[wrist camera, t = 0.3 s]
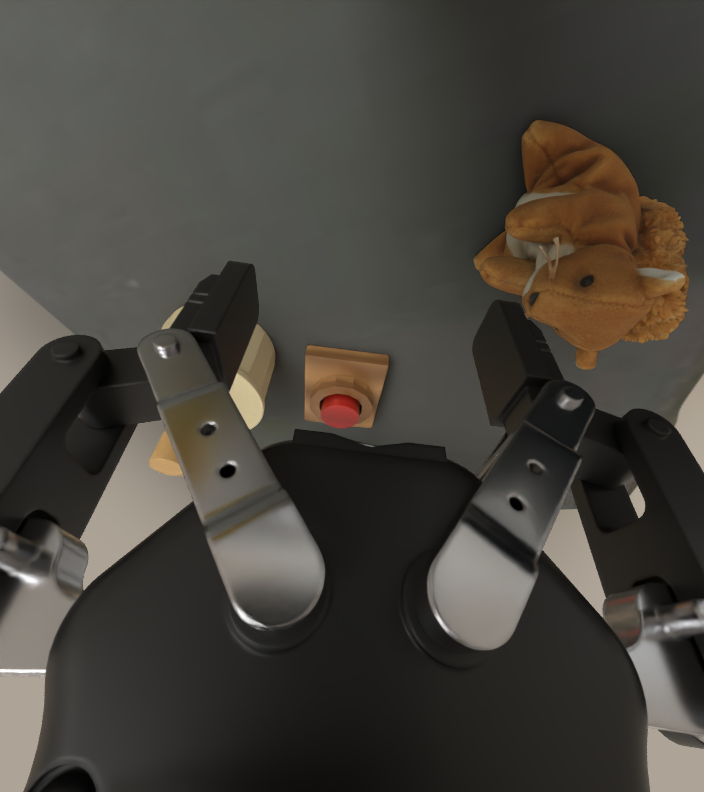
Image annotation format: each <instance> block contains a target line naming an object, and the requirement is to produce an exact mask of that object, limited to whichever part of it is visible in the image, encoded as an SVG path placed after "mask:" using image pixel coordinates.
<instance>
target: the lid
mask: <svg viewBox="0 0 704 792" xmlns="http://www.w3.org/2000/svg"><path fill="white" fill-rule="evenodd" d="M229 393H230V395H231V397H232V399H233V401H234V402H235V404H236V406H237V408H238V410H239V411H240V413H241V415H242V417H243V419H244V420H245V422H246V424H247V426H248V428H249V429H251V428H253V427H255V426H256V425H257V424H258V423H259V422H260V420H261V419H262V417H263V414H264V409H265V402H264V398H263V395H262V393H261V391H260V389H259V388H258V386H257V385H256V384H255V383H254V381H253V380H252V379H251V378H250V377H249V376H247V375H246V374H245V373H244V372H243V371H241V370H240V369H238V372H237V374H236V377H235V379H234V382H233V384H232V387H231V390H230V392H229ZM149 465H150V467H151V468H153V469H154V470H156V471H158V472H160V473H163V474H167V475H172V476H181V475H183V473H182V471H181V468H180V466H179V463H178V460H177V458H176V455H175V453H174V450H173V448H172V445H171V442H170V440H169V437H168V435H167V432H166V429H165V431H164V433H163V435H162V437H161V439H160V441H159V443H158V445H157V447H156V449H155V451H154V452H153V455H152V457H151V458H150V460H149Z"/></svg>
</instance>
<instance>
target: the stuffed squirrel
mask: <svg viewBox="0 0 704 792" xmlns="http://www.w3.org/2000/svg"><path fill="white" fill-rule="evenodd" d="M522 159H523V169H524V177H525V185H526V188H527V192H526V193H525V194H524V195H523V196H522V197H521V198H520V199H519V200H518V202H517V204H516V207H515V208H514V209H513V210H512V211H510V212H509V213H508V215H507V217H506V219H505V222H506V224H505V230H506V231H504V232H503V233H501V234H500V235H499V236H497V237H496V238H495V239H494V240H493V241H492V242H490V243H489V244H488V245H487V246H486V247H485V248H484V249H483V250H481V251H480V252H479V253H478V255H476V256H475V257H474V264H475V268H476V269H477V270H479V271H480V274H481V276H482V278H483V279H484V281H485V282H487V283H488V284H489V285H491V286H492V287H495V288H497V289H500V290H502V291H505V292H509V293H513V294H516V295H520V296H522V304H523V306H524V308H525V310H526V312H524V314H525V316H526V318H528V317H532V318H533V319H535V320H537V321H540V322H542V323H545V324H548V325H550V326H551V327H552V328H553V329H554V331H555V332H556V333H557V334H558V335H559V336H560V337H562V338H563V339H565V340H566V341H567V342H569V343H570V344H572V345H574V346H576V347H577V351H576V365H577V367H579V368H581V369H593V368H594V367H595V365H596V362H597V355H598V351H599V350H603V349H605V348H607V347H609V346H611V345H613V344H615V343H616V342H617V341H619V340H622V339H623V340H625V342H626V341H627V340H629V341H633V342H637V341H639V342H640V343H645V341H649V339H651V340H654V339H655V340H658V341H659V340H663V339H667V338H668V335H669V334H670V333H671V332H673V330H674V329H675V328H677V327H678V325H679V323H680V322H681V321H683V320H684V318H685V317H684V315H685V311H689V310H688V309H687V308H685V305H686V298H687V296H686V293H687V289H688V287H689V285H688V284H689V280H688V279H689V277H687V273H686V267H687V265H684V264H685V261H684V259H683V258H682V254H684V249H686V242H685V241H689V240H688V239H687V238H686V237H685V236H686V234H685V233H684V232H682V228H684V225H683V222H681V221H680V220H679V219H681V217H680V216H679V218H678V213H677V212H675V208H672V207H670V206H669V205H667V204H666V203H662V202H657V199H654V200H651V199H649V198H648V197H646V196H643V197H642V196H641V197H639V191H638V188H637V184H636V182H635V180H634V178H633V176H632V174H631V173H630V171H629V169H628V168H627V166H626V165H625V164H624V162H623V161H622V160H621V159H620V158H619V157H618V156H617V155H616V154H615V153H614V152H613V151H611V150H610V149H609V148H607V147H605V146H603V145H601V144H598V143H596V142H594V141H592V140H590V139H588V138H587V137H585V136H584V135H582V134H580V133H579V132H577V131H575V130H574V129H572V128H569V127H567V126H565V125H562V124H558V123H555V122H549V121H543V120H536V121H534V122H533V123H532V124H531V125H530V126H529V128H528V129H527V131H526V132H525V133H524V135H523V136H522Z"/></svg>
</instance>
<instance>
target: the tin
mask: <svg viewBox="0 0 704 792" xmlns="http://www.w3.org/2000/svg"><path fill="white" fill-rule="evenodd" d="M183 307H184V306H183ZM183 307H181V308H179V309H177V310H176V311H175V312H174V313H173V314H172V315H171V316H170V318H168V319H167V321H166V322H165V324H164V325H163V327H162V328H161V330H162V329H169V328H170V326H171V325H172V323H173V322H174V320H175V319H176V317H177V316H178V314H179V313H180V311H181V310H182V308H183ZM274 366H275V349H274V346H273V343H272V341H271V339H270V338H269V336H268V335H267V333H266V332H265V331H264V330H263V329H262V327H261V326H259V325H258V324H256V327H255V329H254V332H253V334H252V337H251V339H250V342H249V344H248V347H247V349H246V352H245V354H244V357H243V359H242V362H241V364H240V367H239V369H240V370H241V371H243V372H244V373H245V374H246V375H247V376H249V377H250V378H251V379H252V380H253V381H254V383H255V384H256V385H257V386H258V388H259V389H260V391H261V393H262V395H263V398H264V400H265V396H266V393H267V390H268V386H269V383H270V379H271V376H272V373H273V369H274Z"/></svg>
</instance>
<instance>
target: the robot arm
mask: <svg viewBox="0 0 704 792" xmlns="http://www.w3.org/2000/svg"><path fill="white" fill-rule="evenodd" d="M258 315H259V302H258V293H257V283H256V274H255V268H254V265H253V264H248V263H241V262H234V261H228V262H227V264H226V266H225V267H224V269H223V271H222V272H221V274H220V275H213V274H212V275H210V276H208V277H207V278H205V279H204V280H202V281H201V282H199V284H198V285H197V287H196V288H195V290H194V291H193V294H192V295H191V296H190V298H189V299H188V302H186V304H185V305H184V307H183V308H182V310H181V311H180V313H179V314H178V316H177V317H176V319H175V320H174V322H173V323H172V325H171V326H170V328H169V329H162V330H158V331H155V332H153V333H150V334H149V335H147V336H146V337H144V338H143V339H142V340H141V341H140V343H139V344H138V347H135V348H126V349H115V350H104V349H103V347H102V345H101V344H100V342H99V341H98V340H97V339H95V338H93V337H90V336H86V335H71V336H66V337H62V338H58V339H56V340H53V341H51V342H49V343H48V344H46V345H44V346H43V347H42V348H41V349H39V351H37V353H36V354H35V355H34V356H33V357H32V358H31V360H30V361H29V362H28V363H27V364H26V365H25V366H24V367H23V368H22V370H21V371H20V372H19V373H18V374H17V375H16V377H14V379H13V380H12V381H11V382H10V383H9V384H8V385H7V387H6V388H5V389H4V390H3V391H2V392H1V393H0V676H29V677H31V676H32V677H33V676H35V677H36V676H38V677H45V701H44V703H45V704H44V712H43V720H42V727H41V732H40V737H39V742H38V747H37V751H36V754H35V758H34V761H33V765H32V768H31V772H30V775H29V778H28V781H27V784H26V787H25V789H24V791H23V792H650V786H649V777H648V768H647V733H648V728H653V729H658V730H659V731H660V732H661V733H662V734H663V735H664V736H665V737H667V738H668V739H669V740H671V741H673V742H675V743H677V744H679V745H683V746H689V747H695V748H702V749H704V472H703V471H702V469H701V467H700V466H699V464H698V463H697V461H696V459H695V458H694V456H693V455H692V453H691V451H690V450H689V448H688V446H687V445H686V443H685V441H684V440H683V438H682V437H681V435H680V434H679V432H678V431H677V429H676V428H675V427H674V426H673V425H672V424H671V423H670V422H668V421H667V420H666V419H664V418H663V417H661V416H660V415H658V414H656V413H654V412H651V411H648V410H645V409H632V410H630V411H629V412H628V413H626V414H625V415H624V416H623V417H622V418H619V417H617V416H614V415H611V414H609V413H606V412H603V411H601V410H598V409H595V404H594V402H593V400H592V398H591V397H590V396H589V394H588V393H587V392H586V391H584V390H583V389H582V388H580V387H579V386H577V385H575V384H573V383H571V382H568V381H565V380H564V378H563V376H562V374H561V372H560V370H559V367H558V365H557V363H556V361H555V359H554V357H553V355H552V353H550V348H549V346H548V344H546V340H545V338H544V336H543V334H542V331H541V330H540V329H539V328H538V327H537V326H536V325H535V324H534V323H533V322H532V321H531V320H527V318H526V316H525V314H524V311H523V309H522V307H521V305H520V304H519V303H515V302H508V301H501V300H495V301H494V302H493V303H492V304H491V306H490V308H489V310H488V312H487V314H486V316H485V318H484V320H483V322H482V324H481V326H480V328H479V330H478V332H477V333H476V336H475V338H474V341H473V348H472V351H473V356H474V360H475V364H476V368H477V372H478V376H479V380H480V384H481V389H482V393H483V397H484V401H485V405H486V409H487V413H488V417H489V421H490V425H491V426H499V427H505V429H506V433H505V434H504V435H503V436H502V438H501V439H500V440H499V442H498V443H497V445H496V446H495V448H494V449H493V451H492V452H491V454H490V455H489V456H488V458H487V459H486V461H485V462H484V464H483V465H482V467H481V468H480V469H479V471H478V472H477V474H476V475H474V474H472V473H471V472H470V471H468V470H467V469H465V468H464V467H462V466H461V465H459V464H457V463H455V462H453V461H451V460H448V459H446V452H445V447H440V446H432V445H424V444H415V443H401V444H392V445H383V446H374V447H371V446H366V445H364V444H361V443H358V442H355V441H352V440H349V439H347V438H344V437H341V436H338V435H335V434H332V433H324V432H316V431H308V430H299V429H295V431H294V436H293V440H289V441H283V442H279V443H275V444H272V445H269V446H267V447H265V448H263V449H260V448H259V446H258V444H257V442H256V440H255V439H254V437H253V435H252V433H251V431H250V429H249V428H248V426H247V424H246V422H245V420H244V419H243V417H242V415H241V413H240V411H239V410H238V408H237V406H236V404H235V402H234V401H233V399H232V397H231V395H230V393H229V392H230V390H231V387H232V384H233V382H234V379H235V377H236V374H237V372H238V369H239V367H240V364H241V362H242V359H243V357H244V354H245V352H246V349H247V347H248V344H249V342H250V339H251V337H252V334H253V332H254V329H255V327H256V324H257V321H258ZM156 420H162V422H163V424H164V427H165V429H166V432H167V435H168V437H169V440H170V442H171V445H172V448H173V450H174V453H175V455H176V458H177V460H178V463H179V466H180V468H181V471H182V473H183V476H184V478H185V481H186V483H187V486H188V489H189V491H190V494H191V497H192V499H193V502H191V503H190V504H189V505H187V506H186V507H185V508H184V509H183V510H181V511H180V512H179V513H177V514H176V515H175V516H174V517H172V518H171V519H170V520H169V521H167V522H166V523H165V524H164V525H163V526H161V527H160V528H159V529H157V530H156V531H155V532H154V533H152V534H151V535H150V536H149V537H147V538H146V539H145V540H144V541H142V542H141V543H140V544H138V545H137V546H136V547H135V548H133V549H132V550H131V551H130V552H128V553H127V554H126V555H125V556H123V557H122V558H121V559H120V560H118V561H117V562H116V563H115V564H113V565H112V566H111V567H110V568H108V569H107V570H106V571H105V572H103V573H102V574H101V575H100V576H98V577H97V578H96V579H95V580H94V581H93V582H92V583H91V584H90V585H89V586H88V587H87V588H86V589H85V590H83V578H84V573H85V570H86V567H87V563H88V551H87V548H86V546H85V544H84V543H83V542H82V541H81V540H80V538H81V536H82V534H83V532H84V530H85V528H86V526H87V524H88V522H89V520H90V518H91V516H92V514H93V512H94V510H95V508H96V506H97V504H98V502H99V500H100V498H101V496H102V494H103V492H104V490H105V488H106V486H107V484H108V482H109V480H110V478H111V476H112V474H113V472H114V470H115V468H116V466H117V464H118V462H119V460H120V458H121V456H122V454H123V452H124V450H125V448H126V446H127V444H128V442H129V440H130V438H131V436H132V434H133V432H134V430H135V428H136V426H137V424H138V423H144V422H150V421H156ZM633 478H635V480H636V483H637V485H638V487H639V489H640V491H641V493H642V496H643V498H644V500H645V512H644V514H643V515H642V516H641V517H640V518H638V516H637V514H636V511H635V509H634V507H633V505H632V502H631V500H630V497H629V495H628V493H627V491H626V488H625V486H624V484H625V483H627V482H629V481H630V480H632V479H633ZM570 487H571V490H572V493H573V496H574V500H575V503H576V506H577V509H578V512H579V515H580V518H581V521H582V525H583V528H584V531H585V534H586V537H587V540H588V543H589V546H590V549H591V553H592V556H593V559H594V562H595V565H596V568H597V571H598V575H599V578H600V581H601V584H602V587H603V590H604V593H605V596H606V599H605V601H604V604H603V618H602V617H601V616H600V614H599V613H598V612H597V611H596V610H595V609H594V608H593V607H592V605H591V604H590V603H589V602H588V601H587V600H586V599H585V598H584V597H583V595H582V594H581V593H580V592H579V591H578V590H577V589H576V588H575V586H574V585H573V584H572V583H571V582H570V581H569V579H568V578H567V577H566V576H565V575H564V574H563V573H562V572H561V570H560V569H559V568H558V567H557V566H556V565H555V564H554V563H553V561H551V559H550V558H549V557H548V556H547V555H546V554H545V553H544V551H543V550H542V549H543V547H544V545H545V542H546V540H547V538H548V536H549V533H550V531H551V529H552V527H553V524H554V522H555V520H556V518H557V515H558V513H559V511H560V509H561V506H562V504H563V502H564V500H565V497H566V495H567V493H568V491H569V488H570Z"/></svg>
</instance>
